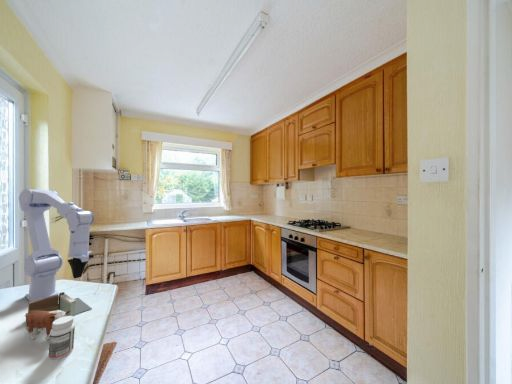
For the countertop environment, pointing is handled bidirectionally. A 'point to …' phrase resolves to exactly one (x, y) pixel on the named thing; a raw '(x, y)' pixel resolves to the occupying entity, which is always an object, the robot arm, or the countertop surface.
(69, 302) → the fence gate
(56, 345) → the pill bottle
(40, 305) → the fence section
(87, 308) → the board
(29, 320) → the bull figurine
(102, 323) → the countertop surface
